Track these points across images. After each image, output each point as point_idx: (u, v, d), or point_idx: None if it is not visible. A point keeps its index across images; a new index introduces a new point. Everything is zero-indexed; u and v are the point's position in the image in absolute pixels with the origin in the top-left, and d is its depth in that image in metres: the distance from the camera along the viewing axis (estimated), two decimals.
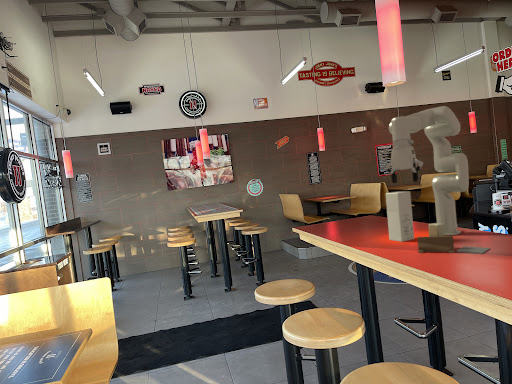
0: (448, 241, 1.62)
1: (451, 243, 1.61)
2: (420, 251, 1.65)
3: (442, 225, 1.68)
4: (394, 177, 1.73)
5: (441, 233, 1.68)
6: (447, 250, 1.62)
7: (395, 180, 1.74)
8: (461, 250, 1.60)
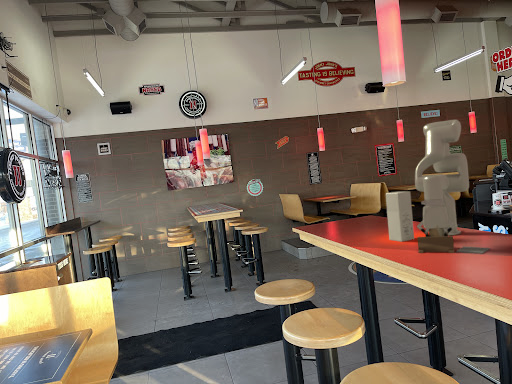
0: (448, 241, 1.62)
1: (451, 243, 1.61)
2: (420, 251, 1.65)
3: None
4: None
5: (441, 233, 1.68)
6: (447, 250, 1.62)
7: None
8: (461, 250, 1.60)
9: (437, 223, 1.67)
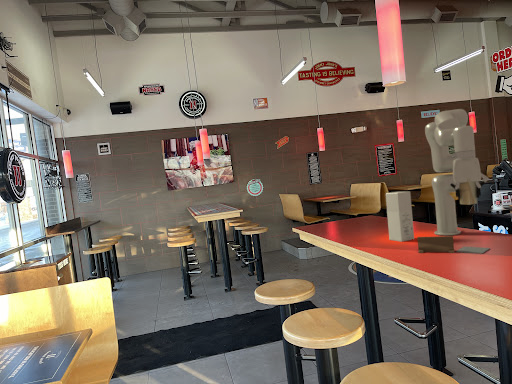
0: (448, 241, 1.62)
1: (451, 243, 1.61)
2: (420, 251, 1.65)
3: None
4: (476, 191, 1.59)
5: (473, 187, 1.57)
6: (447, 250, 1.62)
7: None
8: (461, 250, 1.60)
9: (469, 176, 1.56)
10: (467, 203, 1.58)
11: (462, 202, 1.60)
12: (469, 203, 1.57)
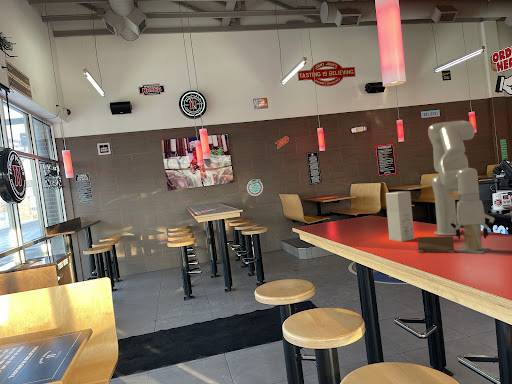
0: (448, 241, 1.62)
1: (451, 243, 1.61)
2: (420, 251, 1.65)
3: (479, 225, 1.58)
4: (483, 231, 1.59)
5: (478, 233, 1.58)
6: (447, 250, 1.62)
7: (483, 235, 1.58)
8: (461, 250, 1.60)
9: (473, 219, 1.57)
10: (472, 249, 1.58)
11: (467, 247, 1.60)
12: (474, 249, 1.57)
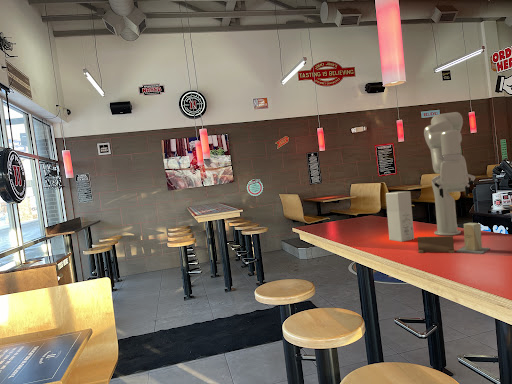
0: (448, 241, 1.62)
1: (451, 243, 1.61)
2: (420, 251, 1.65)
3: (479, 225, 1.58)
4: (465, 190, 1.67)
5: (478, 233, 1.58)
6: (447, 250, 1.62)
7: (465, 193, 1.66)
8: (461, 250, 1.60)
9: (455, 178, 1.65)
10: (472, 249, 1.58)
11: (467, 247, 1.60)
12: (474, 249, 1.57)
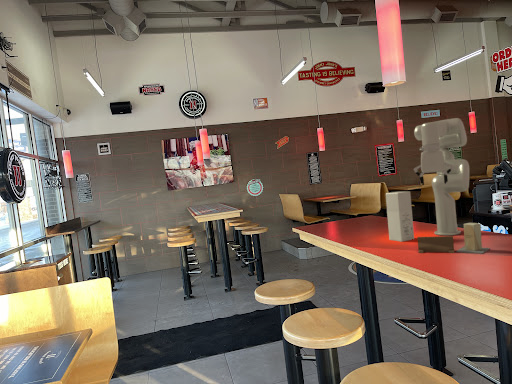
0: (448, 241, 1.62)
1: (451, 243, 1.61)
2: (420, 251, 1.65)
3: (479, 225, 1.58)
4: None
5: (478, 233, 1.58)
6: (447, 250, 1.62)
7: (444, 181, 1.79)
8: (461, 250, 1.60)
9: (434, 167, 1.78)
10: (472, 249, 1.58)
11: (467, 247, 1.60)
12: (474, 249, 1.57)
